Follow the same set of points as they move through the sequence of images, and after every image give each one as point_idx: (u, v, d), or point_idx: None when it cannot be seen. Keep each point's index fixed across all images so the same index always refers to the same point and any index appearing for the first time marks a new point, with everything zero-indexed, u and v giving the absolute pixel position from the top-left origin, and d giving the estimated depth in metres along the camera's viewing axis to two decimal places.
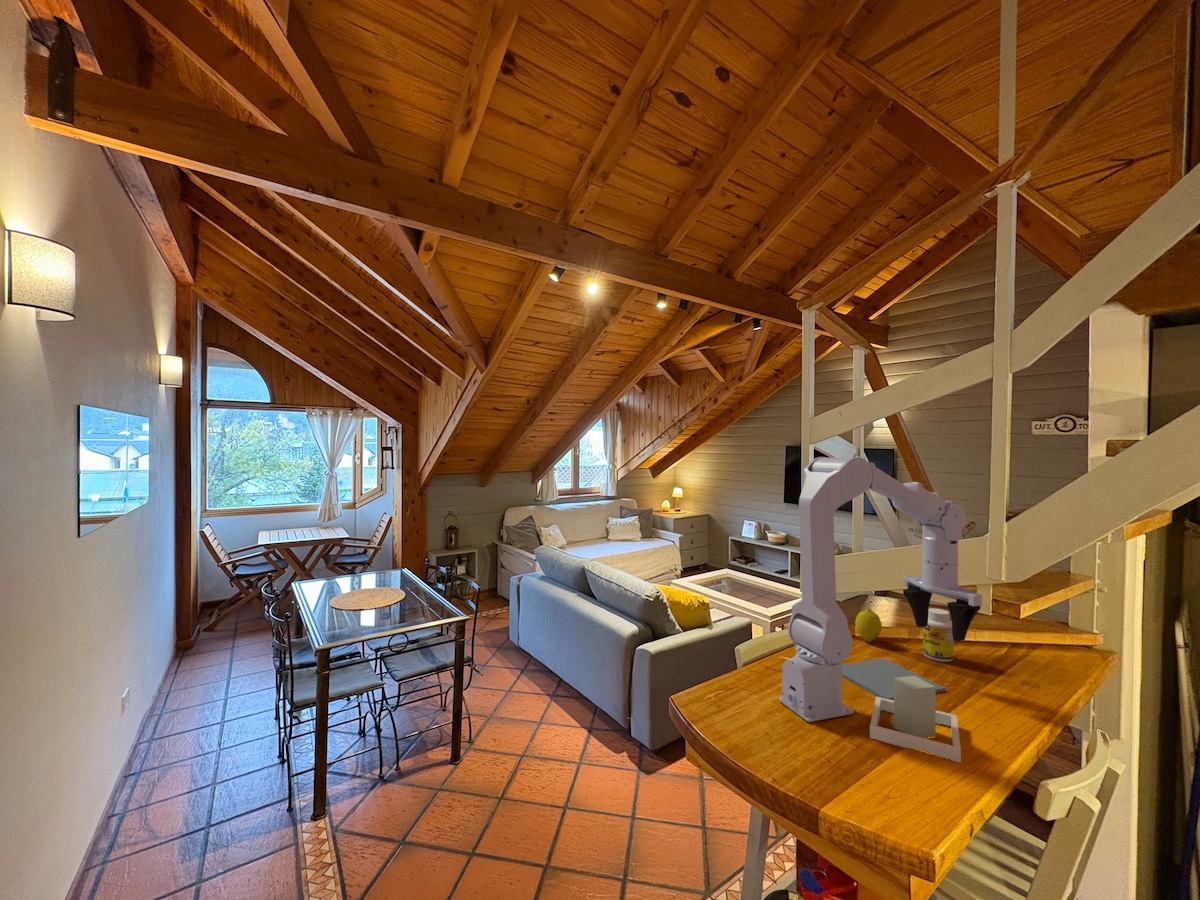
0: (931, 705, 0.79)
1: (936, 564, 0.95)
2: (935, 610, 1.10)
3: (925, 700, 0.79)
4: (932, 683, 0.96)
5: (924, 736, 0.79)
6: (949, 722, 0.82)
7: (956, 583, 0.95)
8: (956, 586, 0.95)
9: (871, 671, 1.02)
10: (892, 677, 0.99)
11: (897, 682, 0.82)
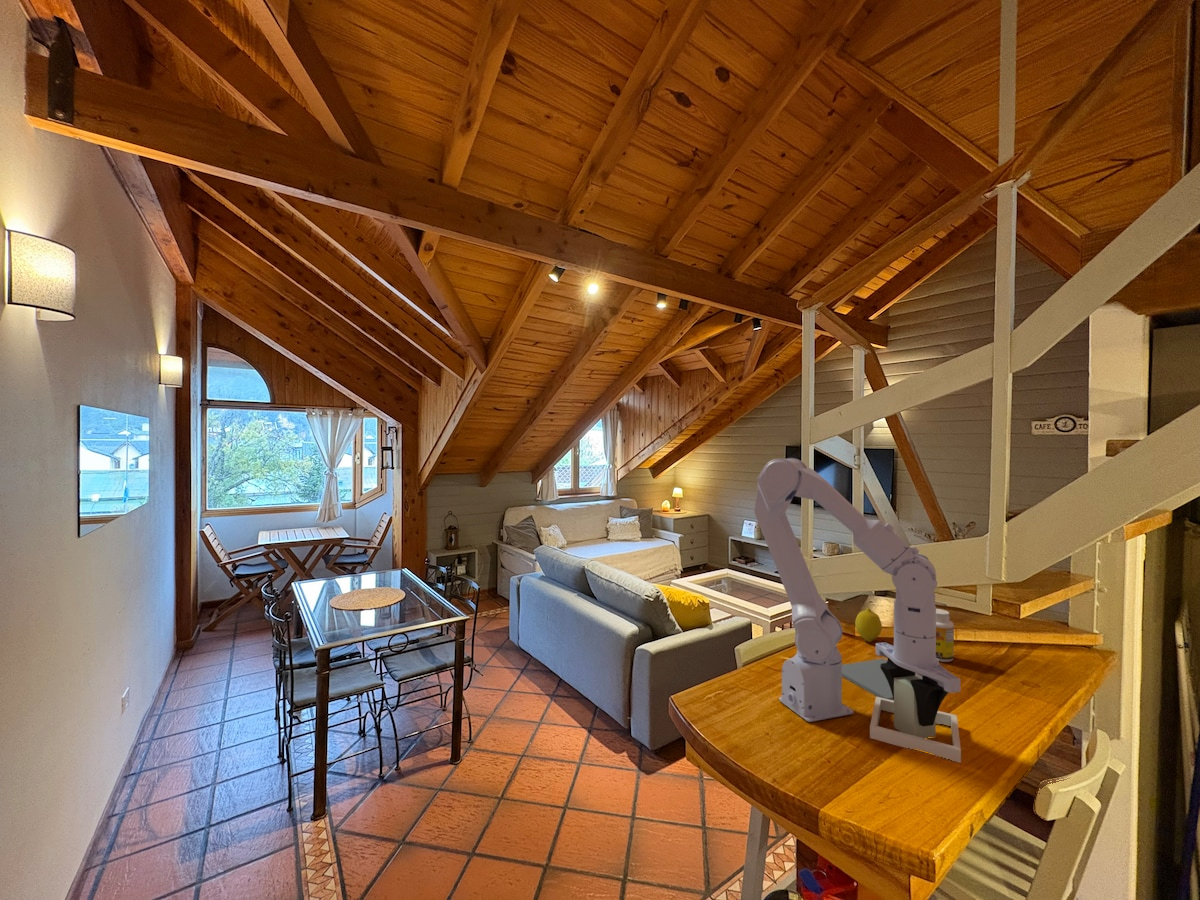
0: None
1: (908, 636, 0.79)
2: None
3: None
4: None
5: (924, 736, 0.79)
6: (949, 722, 0.82)
7: (932, 660, 0.78)
8: (932, 663, 0.78)
9: (871, 671, 1.02)
10: None
11: (897, 682, 0.82)
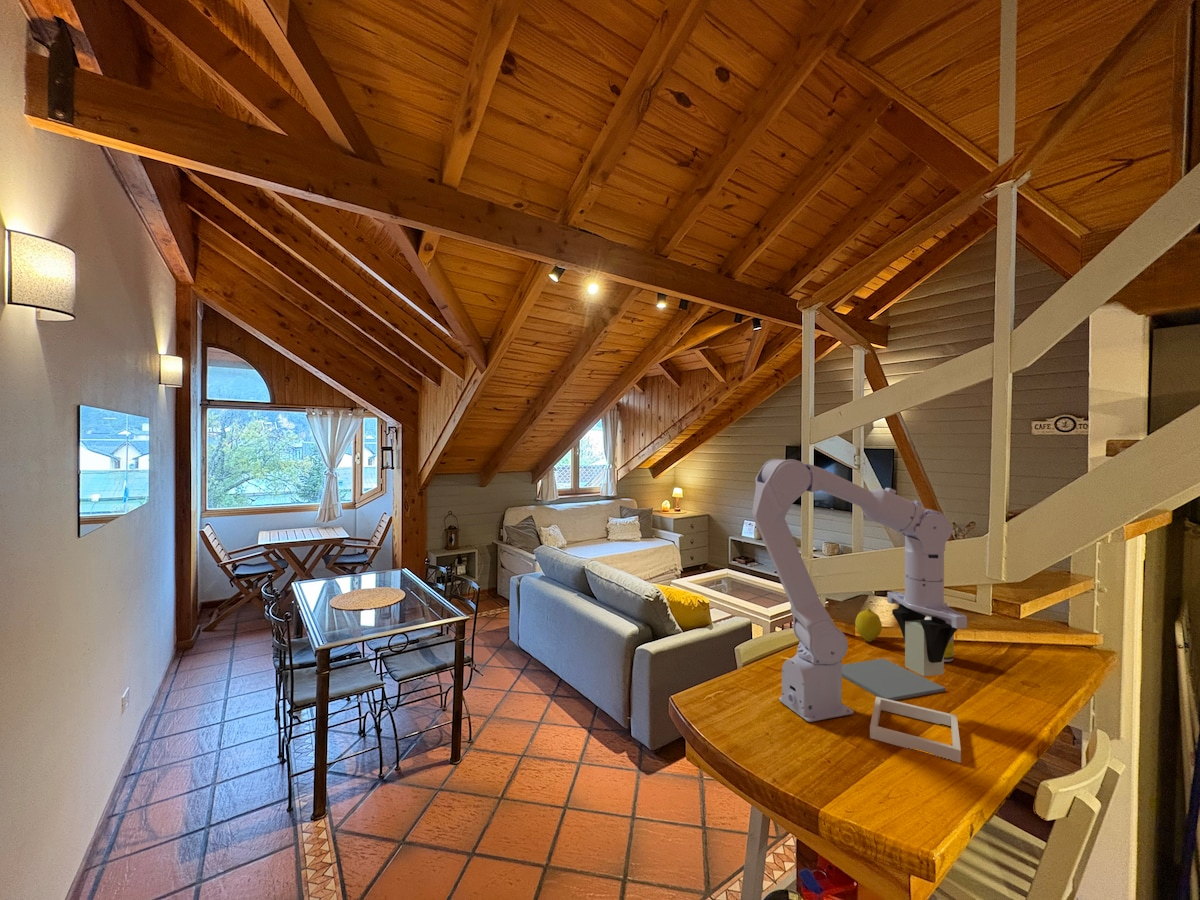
0: None
1: (918, 580, 0.86)
2: None
3: None
4: (932, 683, 0.96)
5: (933, 672, 0.86)
6: (949, 722, 0.82)
7: (941, 602, 0.85)
8: (941, 605, 0.85)
9: (871, 671, 1.02)
10: (892, 677, 0.99)
11: (908, 624, 0.88)
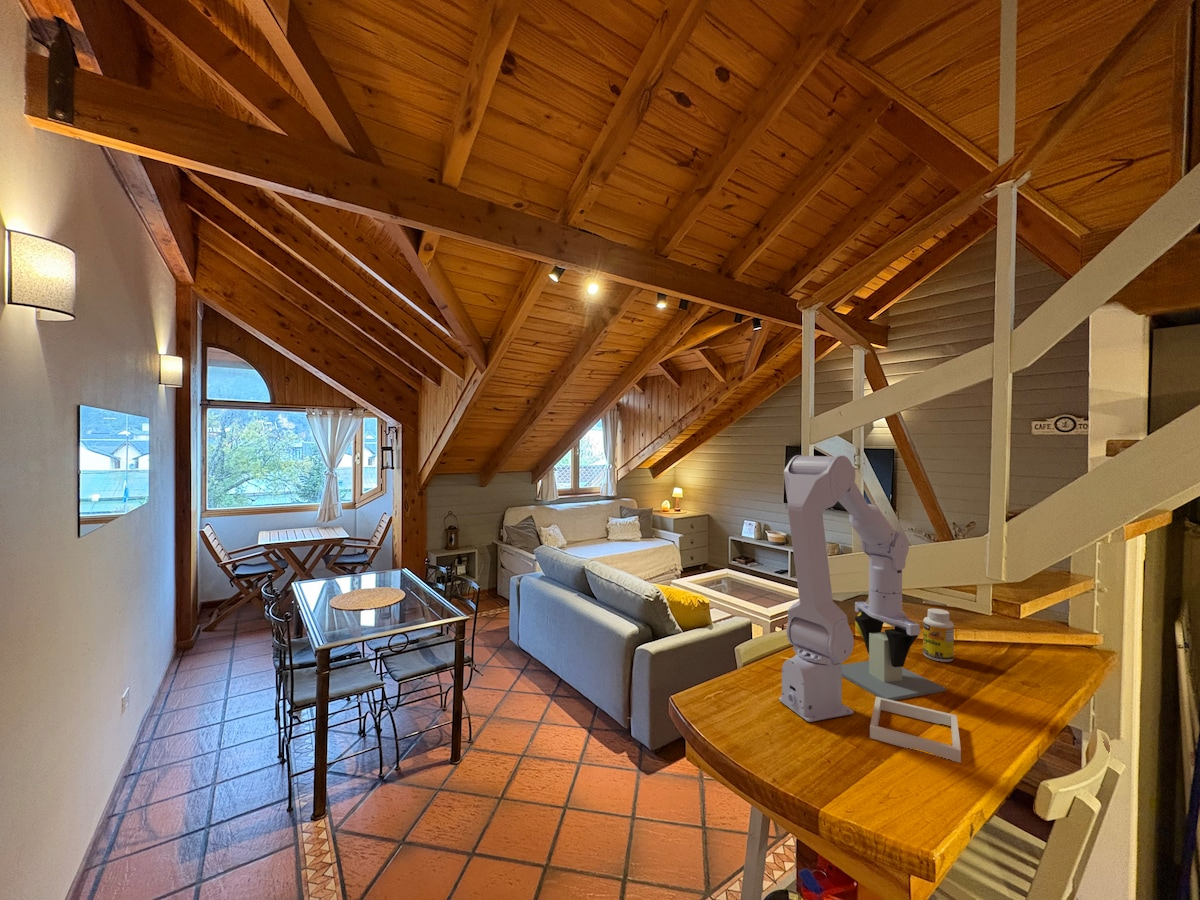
0: None
1: (879, 592, 0.98)
2: (935, 610, 1.10)
3: None
4: (932, 683, 0.96)
5: (892, 678, 0.97)
6: (949, 722, 0.82)
7: (899, 611, 0.97)
8: (899, 614, 0.97)
9: None
10: None
11: (872, 636, 1.00)
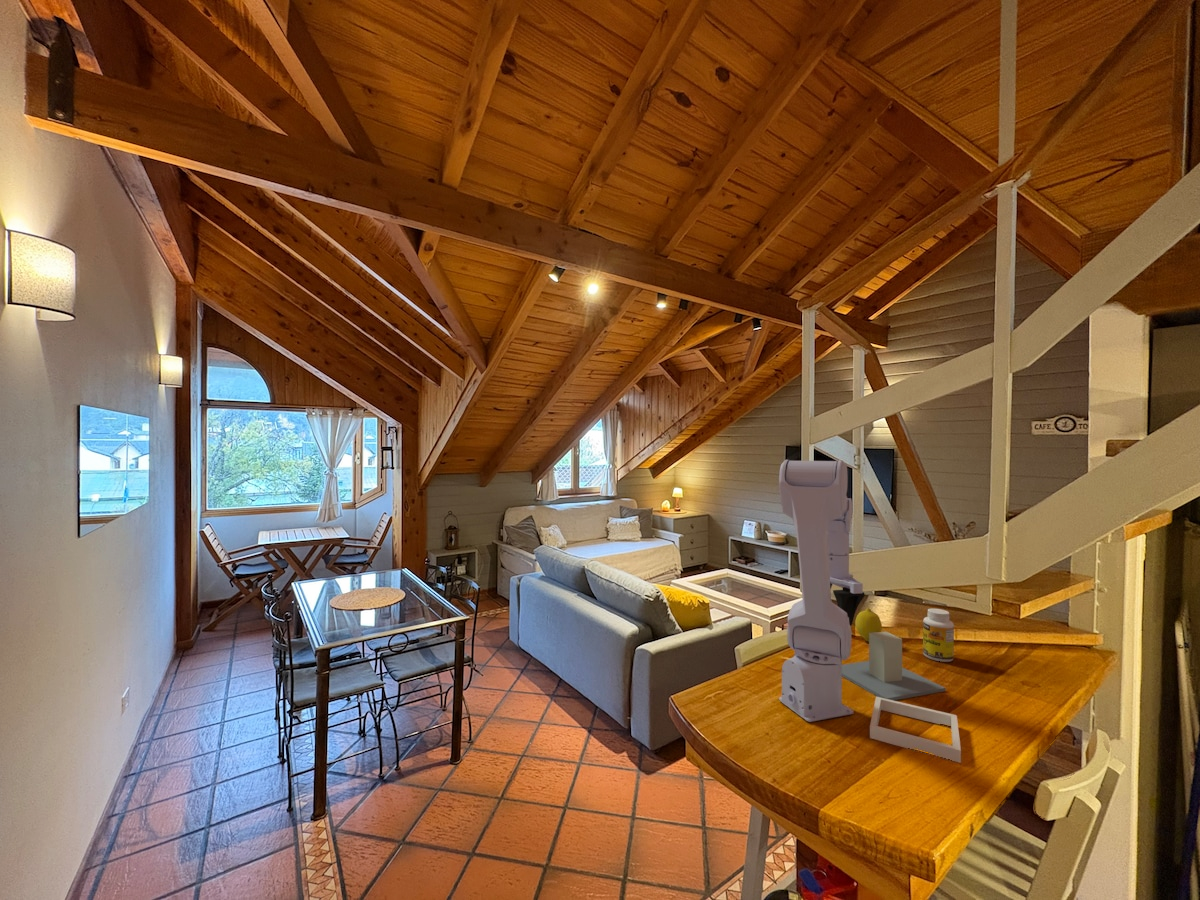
0: (898, 654, 0.98)
1: None
2: (935, 610, 1.10)
3: (893, 650, 0.97)
4: (932, 683, 0.96)
5: (892, 678, 0.97)
6: (949, 722, 0.82)
7: (845, 573, 1.01)
8: (845, 575, 1.01)
9: None
10: None
11: (872, 636, 1.00)
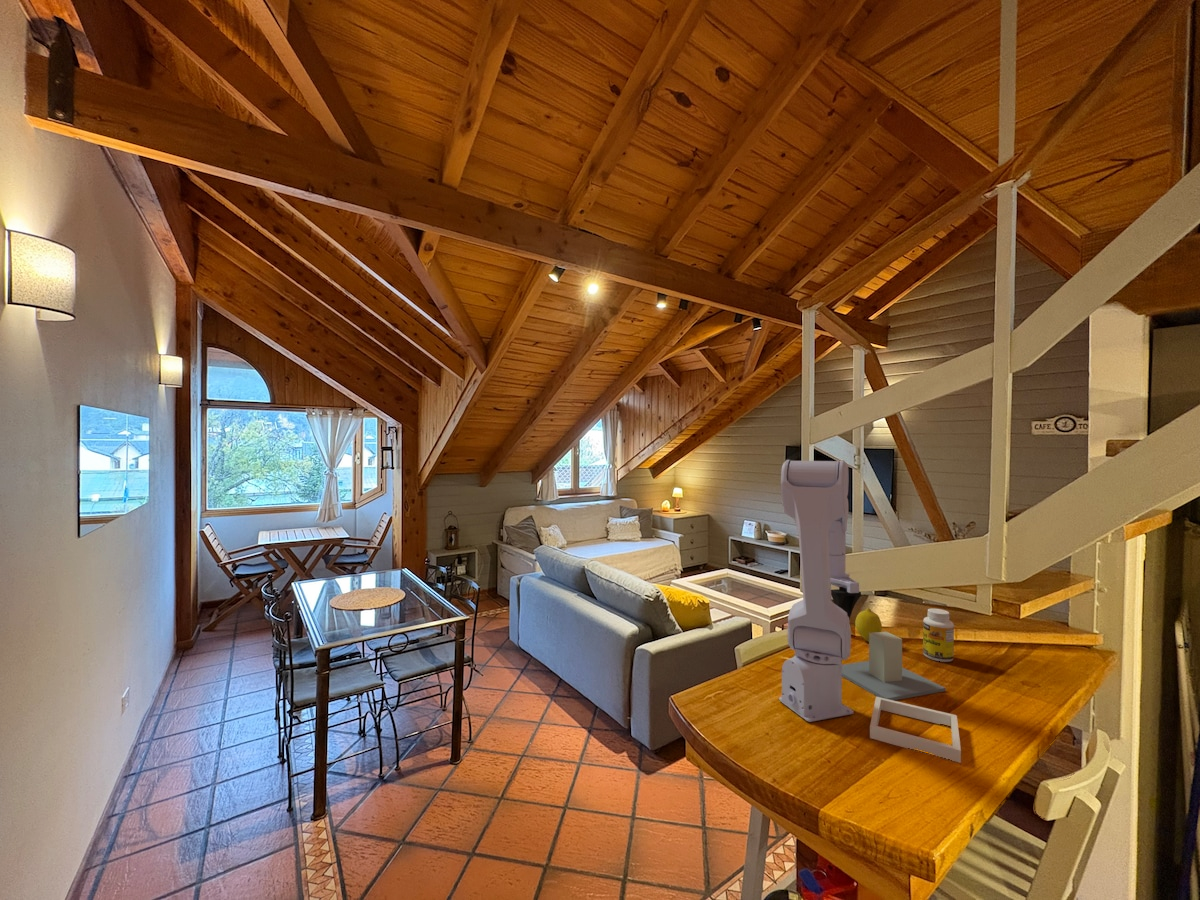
0: (898, 654, 0.98)
1: None
2: (935, 610, 1.10)
3: (893, 650, 0.97)
4: (932, 683, 0.96)
5: (892, 678, 0.97)
6: (949, 722, 0.82)
7: (842, 572, 1.02)
8: (842, 575, 1.02)
9: None
10: None
11: (872, 636, 1.00)
